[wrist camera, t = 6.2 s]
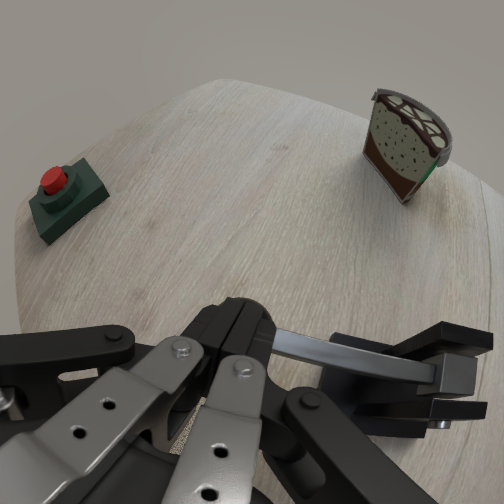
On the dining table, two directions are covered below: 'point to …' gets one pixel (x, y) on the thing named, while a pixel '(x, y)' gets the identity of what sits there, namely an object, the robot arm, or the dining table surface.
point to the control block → (67, 201)
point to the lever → (381, 363)
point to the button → (53, 180)
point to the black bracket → (404, 384)
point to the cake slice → (405, 142)
